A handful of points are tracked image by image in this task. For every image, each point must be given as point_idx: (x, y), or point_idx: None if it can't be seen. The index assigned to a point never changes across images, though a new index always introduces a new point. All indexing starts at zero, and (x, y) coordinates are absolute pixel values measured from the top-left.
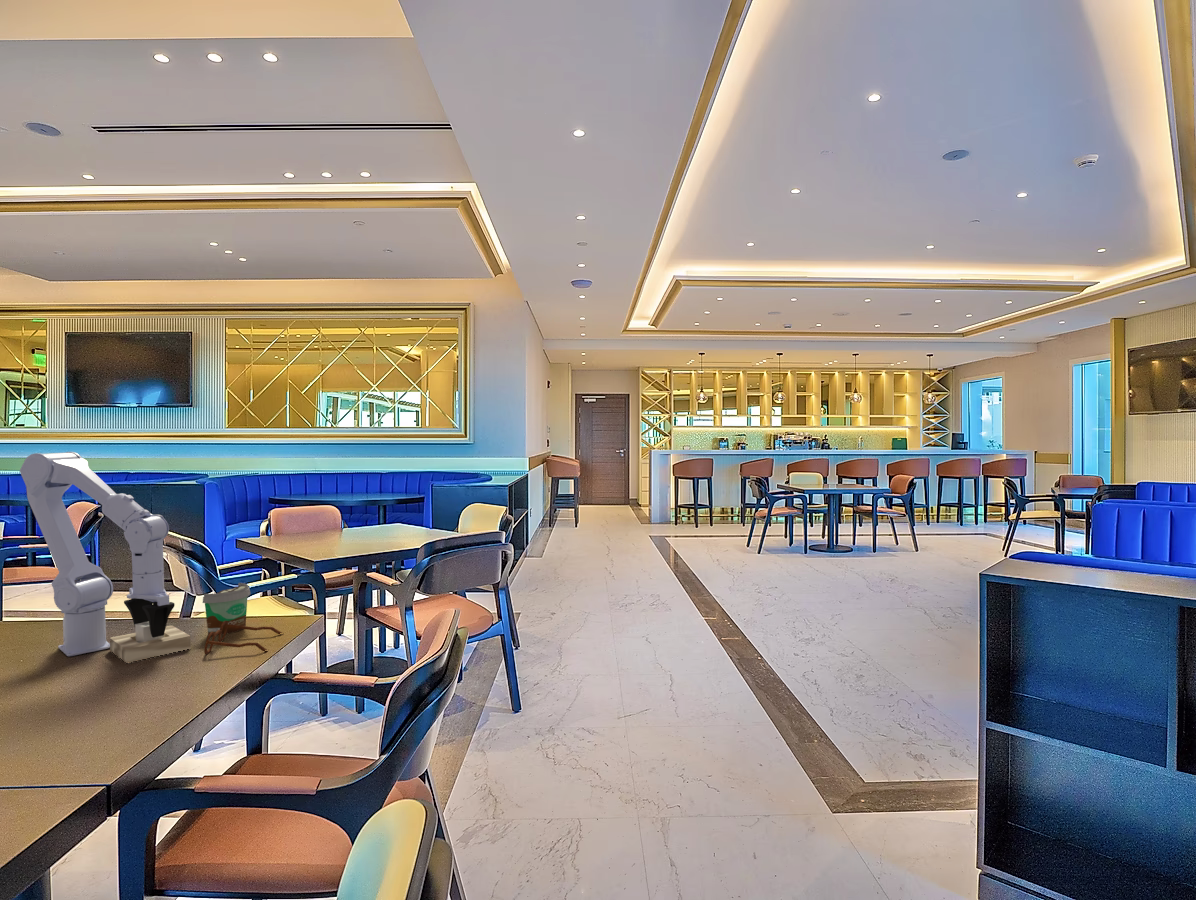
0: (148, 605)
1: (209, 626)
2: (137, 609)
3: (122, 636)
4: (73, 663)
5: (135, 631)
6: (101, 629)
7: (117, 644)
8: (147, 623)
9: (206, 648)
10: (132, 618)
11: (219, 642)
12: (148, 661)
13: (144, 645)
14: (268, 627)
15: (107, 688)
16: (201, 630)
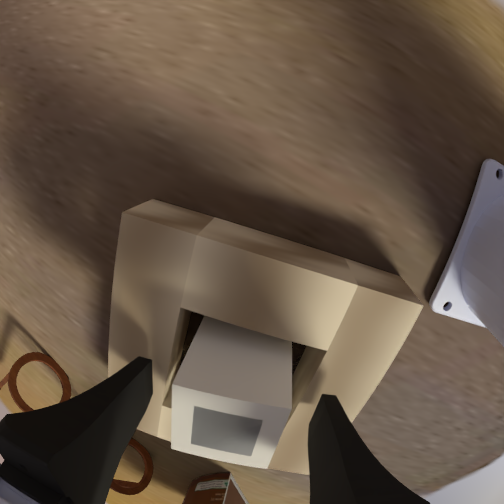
0: (48, 479)
1: (218, 492)
2: (334, 496)
3: (378, 343)
4: (393, 107)
5: (291, 378)
6: (500, 323)
7: (283, 260)
8: (236, 432)
9: (22, 358)
10: (359, 440)
11: (5, 377)
12: (111, 256)
13: (113, 289)
14: None
15: (7, 58)
16: (291, 485)
